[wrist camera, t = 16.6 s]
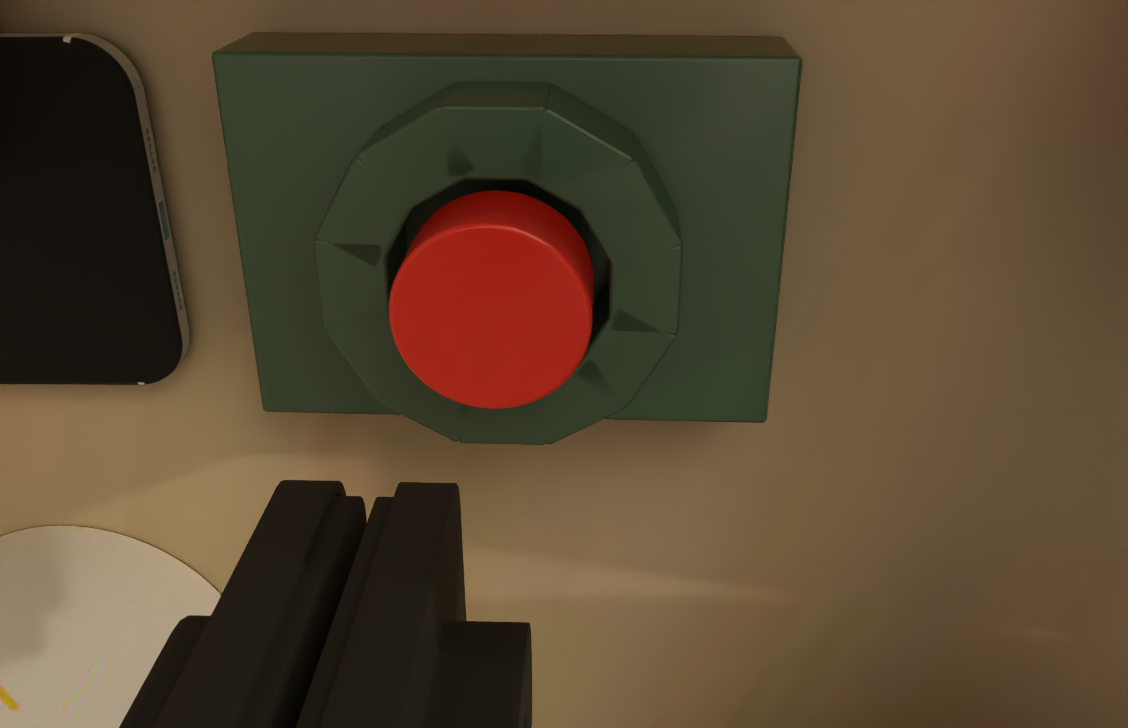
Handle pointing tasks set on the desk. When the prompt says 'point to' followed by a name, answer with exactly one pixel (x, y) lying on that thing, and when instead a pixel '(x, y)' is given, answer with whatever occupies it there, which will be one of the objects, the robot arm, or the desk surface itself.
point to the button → (494, 300)
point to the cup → (85, 623)
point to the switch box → (523, 165)
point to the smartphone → (82, 220)
